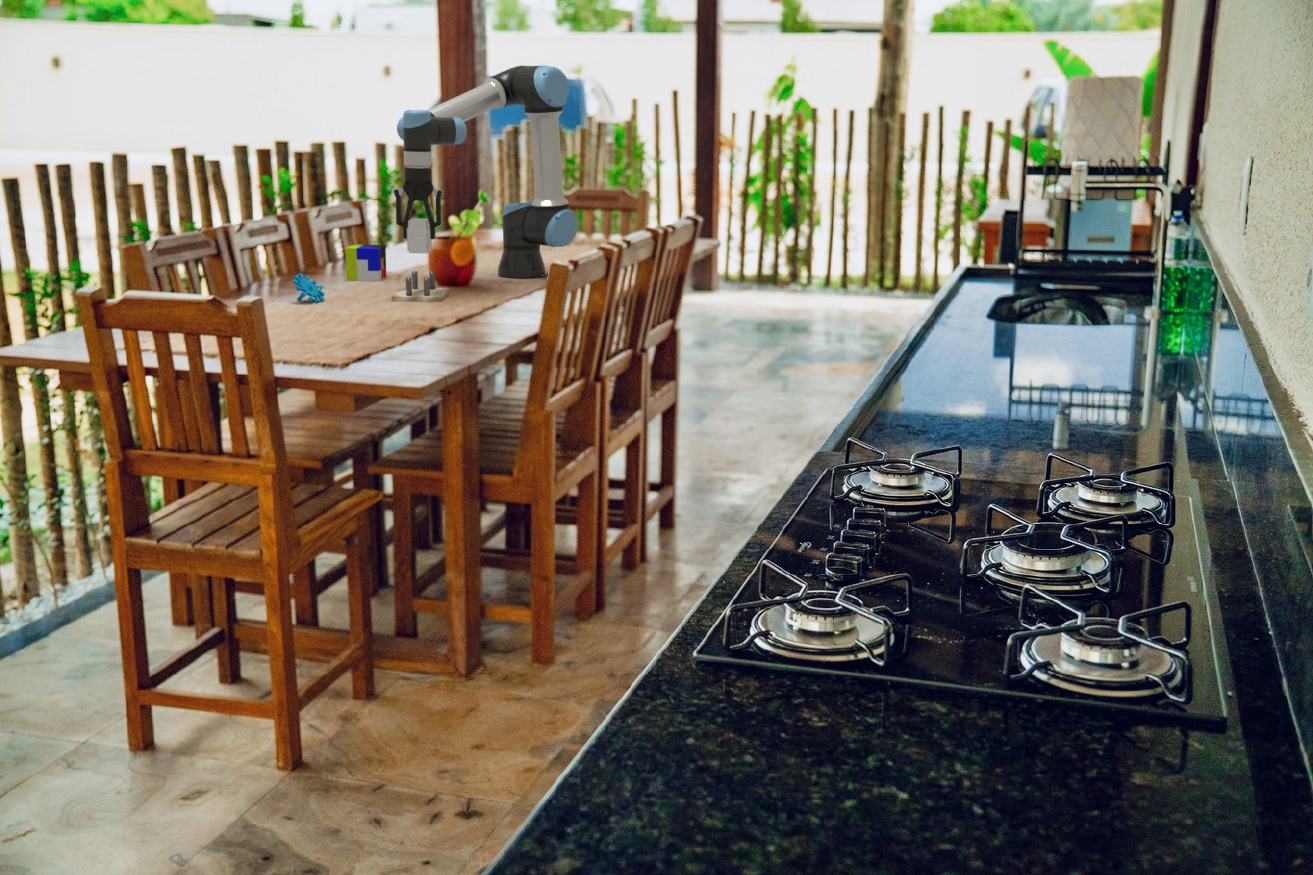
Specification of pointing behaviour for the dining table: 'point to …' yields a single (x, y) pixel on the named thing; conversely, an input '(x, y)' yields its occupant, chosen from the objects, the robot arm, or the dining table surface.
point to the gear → (308, 288)
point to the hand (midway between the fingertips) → (419, 250)
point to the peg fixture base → (420, 290)
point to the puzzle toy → (365, 262)
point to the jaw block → (418, 235)
